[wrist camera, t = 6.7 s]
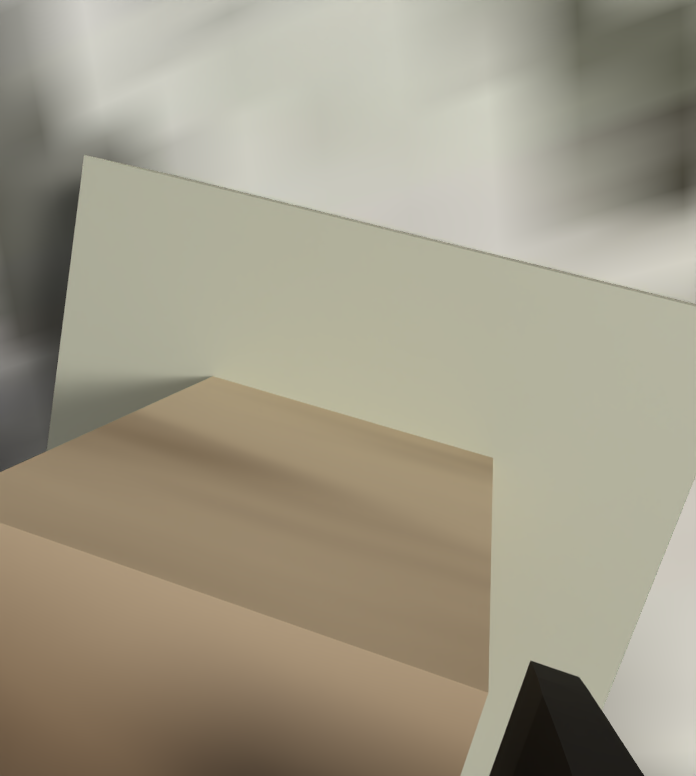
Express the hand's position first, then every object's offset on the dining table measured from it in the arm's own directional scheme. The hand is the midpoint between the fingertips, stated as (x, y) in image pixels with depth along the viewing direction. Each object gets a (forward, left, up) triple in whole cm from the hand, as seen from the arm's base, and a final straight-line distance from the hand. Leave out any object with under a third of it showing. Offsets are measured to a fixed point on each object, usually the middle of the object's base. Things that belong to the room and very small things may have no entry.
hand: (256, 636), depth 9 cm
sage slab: (0, 0, -6) cm, 6 cm away
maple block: (0, 0, -3) cm, 3 cm away
